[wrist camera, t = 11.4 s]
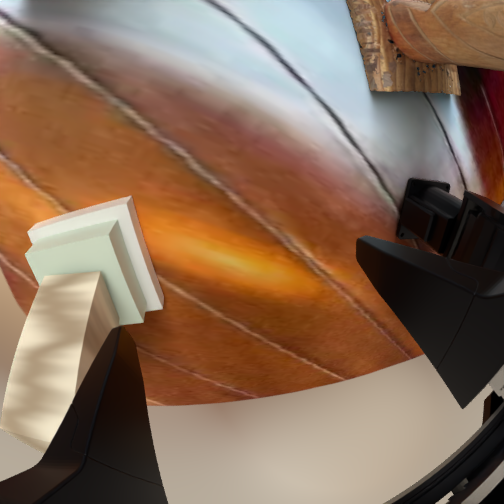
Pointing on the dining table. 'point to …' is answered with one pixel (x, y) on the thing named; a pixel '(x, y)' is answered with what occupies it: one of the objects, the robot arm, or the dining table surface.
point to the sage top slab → (93, 264)
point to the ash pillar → (55, 354)
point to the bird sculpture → (427, 41)
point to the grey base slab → (131, 235)
